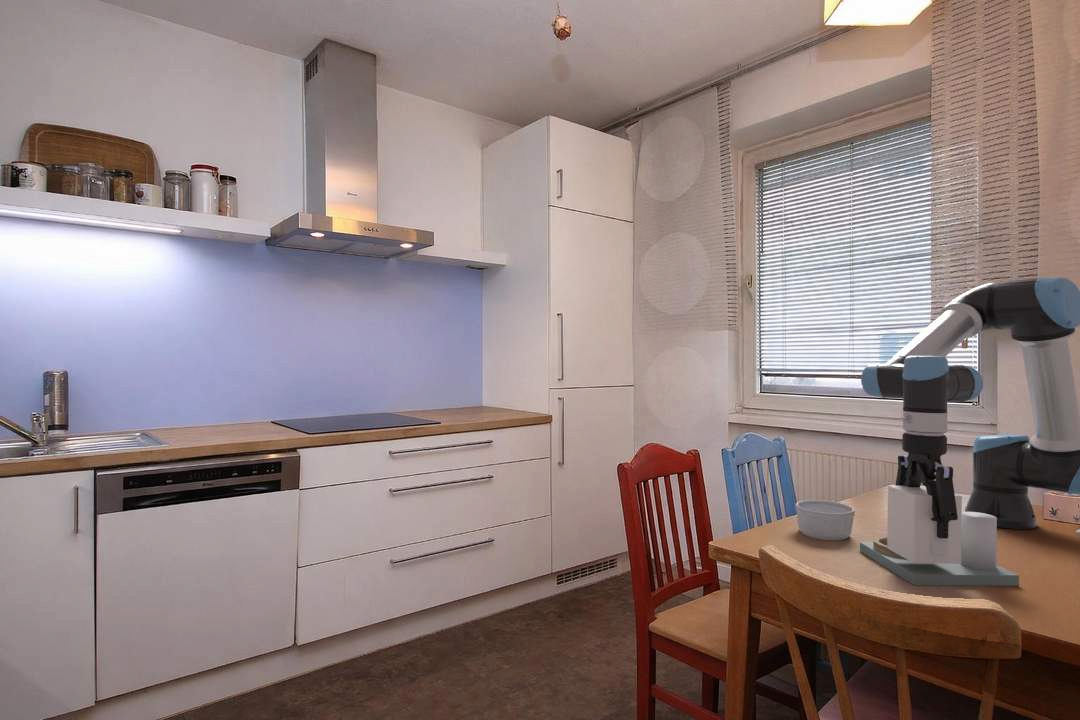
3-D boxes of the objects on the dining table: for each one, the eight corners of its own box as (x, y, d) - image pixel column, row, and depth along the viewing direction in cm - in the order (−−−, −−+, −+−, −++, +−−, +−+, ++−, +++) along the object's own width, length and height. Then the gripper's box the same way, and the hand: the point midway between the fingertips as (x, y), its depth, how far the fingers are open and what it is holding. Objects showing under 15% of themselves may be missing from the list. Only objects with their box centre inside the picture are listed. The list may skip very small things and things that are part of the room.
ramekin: (826, 545, 140) (827, 515, 140) (783, 530, 152) (783, 502, 152) (866, 538, 145) (867, 509, 145) (821, 524, 157) (821, 497, 157)
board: (949, 551, 136) (949, 498, 135) (1018, 585, 116) (1019, 523, 115) (859, 551, 136) (860, 497, 136) (914, 585, 116) (914, 522, 116)
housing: (931, 548, 125) (931, 485, 124) (961, 563, 116) (961, 496, 115) (887, 548, 125) (887, 485, 125) (913, 563, 116) (914, 495, 116)
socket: (907, 543, 135) (907, 536, 135) (935, 557, 125) (935, 550, 125) (864, 543, 135) (865, 536, 135) (889, 557, 125) (889, 550, 125)
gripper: (875, 426, 131) (874, 529, 131) (941, 440, 109) (939, 564, 109) (910, 426, 131) (909, 530, 131) (983, 440, 109) (981, 565, 109)
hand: (923, 545), depth 120 cm, fingers closed on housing, 9 cm apart
